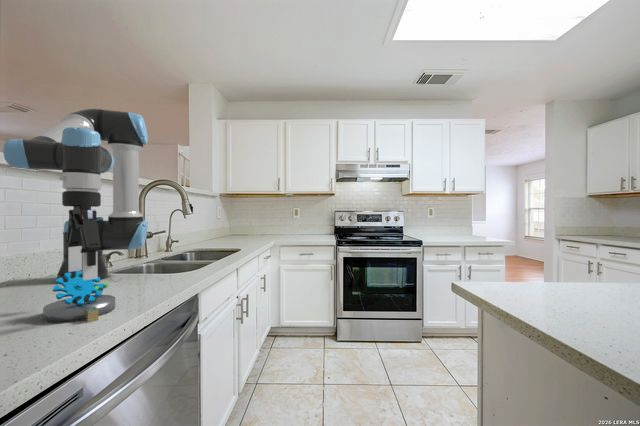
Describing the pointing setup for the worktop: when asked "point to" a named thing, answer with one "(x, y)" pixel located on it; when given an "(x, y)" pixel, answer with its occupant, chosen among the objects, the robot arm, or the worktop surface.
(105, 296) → the dark grey frying pan
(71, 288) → the gear
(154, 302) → the worktop surface
